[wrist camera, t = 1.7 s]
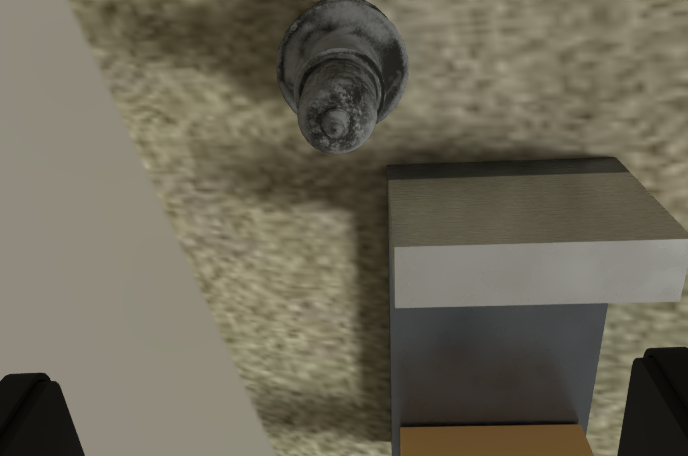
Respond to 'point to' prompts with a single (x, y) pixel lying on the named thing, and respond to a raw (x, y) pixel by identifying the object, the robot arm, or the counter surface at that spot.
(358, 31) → the dark grey chess piece
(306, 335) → the counter surface
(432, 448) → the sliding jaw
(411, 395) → the vise
